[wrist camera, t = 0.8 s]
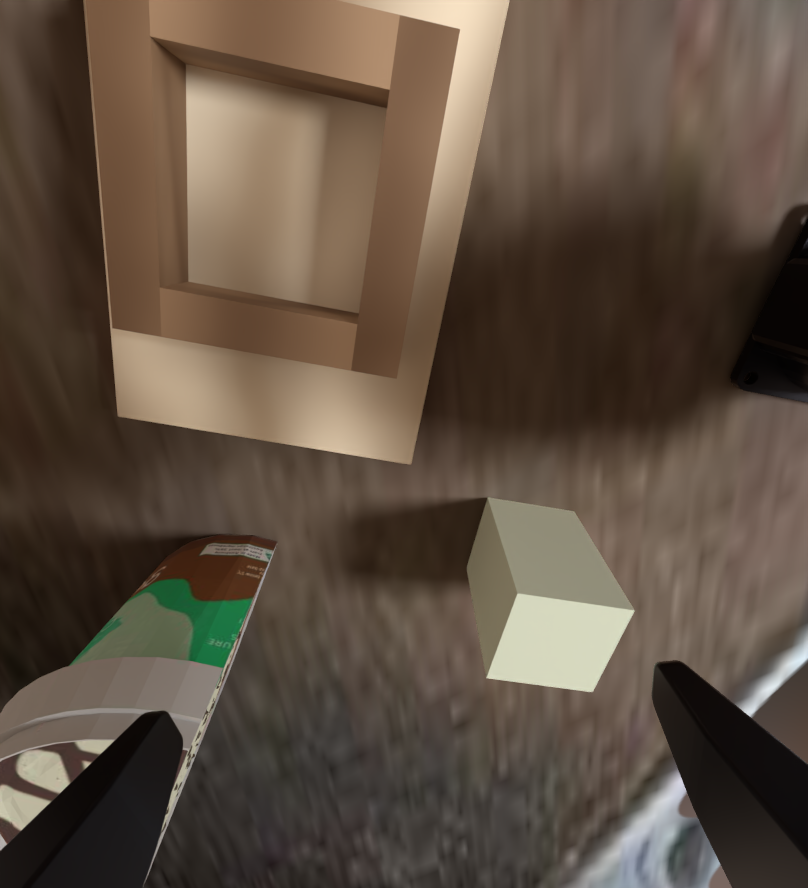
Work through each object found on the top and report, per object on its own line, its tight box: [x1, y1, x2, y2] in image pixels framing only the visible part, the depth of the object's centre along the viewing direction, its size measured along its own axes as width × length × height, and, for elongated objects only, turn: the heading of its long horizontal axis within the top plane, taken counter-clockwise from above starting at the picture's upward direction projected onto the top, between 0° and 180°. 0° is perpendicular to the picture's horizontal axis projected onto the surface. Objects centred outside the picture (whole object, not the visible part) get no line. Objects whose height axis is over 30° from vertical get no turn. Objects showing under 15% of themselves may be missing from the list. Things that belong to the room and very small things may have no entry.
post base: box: [83, 0, 509, 465], centre depth 14 cm, size 12×17×3 cm
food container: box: [0, 534, 277, 886], centre depth 18 cm, size 12×6×10 cm, turn 157°
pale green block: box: [466, 497, 635, 692], centre depth 19 cm, size 4×4×6 cm
